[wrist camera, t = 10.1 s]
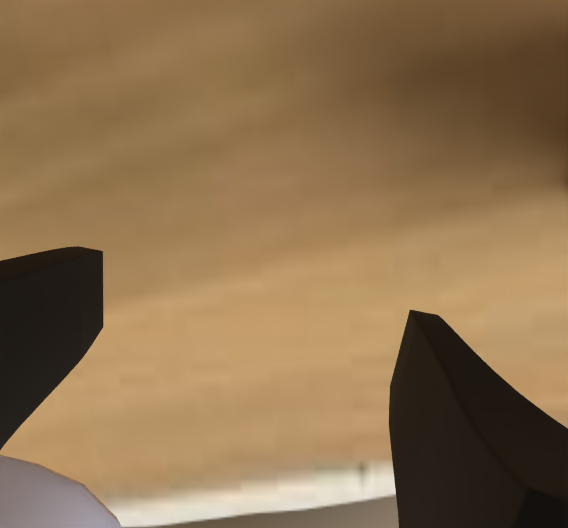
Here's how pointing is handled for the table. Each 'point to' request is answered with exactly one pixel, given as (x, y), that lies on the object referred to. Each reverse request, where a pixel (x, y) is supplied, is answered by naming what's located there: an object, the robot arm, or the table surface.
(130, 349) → the table surface
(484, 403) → the robot arm
